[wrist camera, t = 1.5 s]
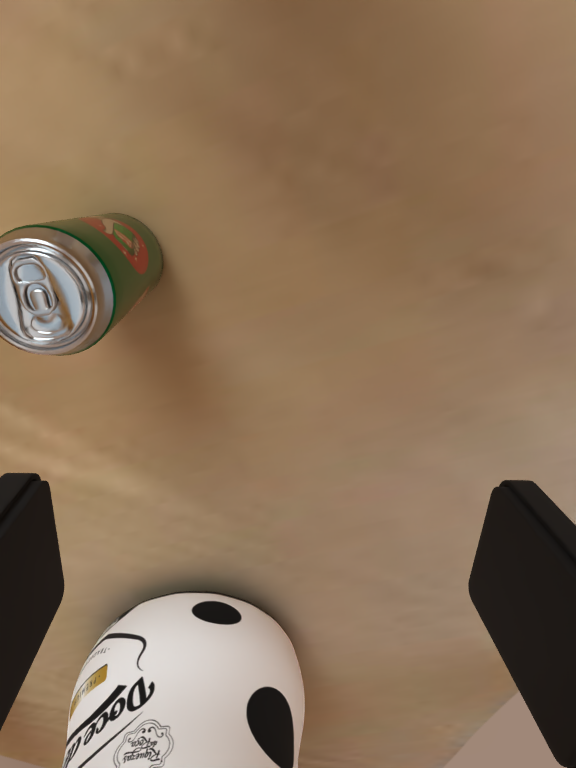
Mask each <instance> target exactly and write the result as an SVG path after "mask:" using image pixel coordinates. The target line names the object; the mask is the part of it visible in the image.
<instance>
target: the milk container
mask: <svg viewBox="0 0 576 768" xmlns="http://www.w3.org/2000/svg"><path fill="white" fill-rule="evenodd" d="M304 714H305V697H304V686H303V680H302V675H301V670H300V667H299V663H298V660H297V657H296V654H295V651H294V648H293V645H292V643H291V641H290V639H289V638H288V636H287V635H286V633H285V632H284V631H283V629H282V628H281V627H280V625H279V624H278V623H277V622H276V621H275V619H274V618H272V617H271V616H270V615H269V614H267V613H266V612H264V611H263V610H261V609H260V608H258V607H257V606H255V605H253V604H251V603H250V602H247V601H245V600H242V599H239V598H236V597H232V596H229V595H225V594H221V593H216V592H200V591H186V592H176V593H171V594H166V595H163V596H159V597H155V598H152V599H149V600H146V601H143V602H142V603H140V604H138V605H136V606H134V607H133V608H131V609H130V610H128V611H127V612H125V613H123V614H122V615H121V616H119V617H118V618H117V619H116V620H115V621H114V622H113V623H112V624H111V625H110V626H109V627H108V628H107V629H106V630H105V631H104V632H103V633H102V635H101V636H100V638H99V639H98V641H97V642H96V644H95V646H94V647H93V649H92V651H91V652H90V654H89V656H88V658H87V660H86V662H85V664H84V666H83V668H82V670H81V672H80V674H79V677H78V680H77V682H76V685H75V688H74V692H73V696H72V700H71V705H70V711H69V720H68V732H67V744H66V751H65V757H64V761H63V765H62V768H298V756H299V749H300V743H301V737H302V731H303V724H304Z"/></svg>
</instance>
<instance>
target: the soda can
mask: <svg viewBox="0 0 576 768" xmlns="http://www.w3.org/2000/svg"><path fill="white" fill-rule="evenodd" d="M162 269H163V256H162V251H161V248H160V245H159V243H158V241H157V239H156V237H155V236H154V235H153V233H152V232H151V231H150V230H149V229H148V228H147V227H146V226H145V225H144V224H143V223H142V222H140V221H138V220H137V219H135V218H133V217H130V216H128V215H124V214H118V213H109V214H101V215H94V216H87V217H81V218H74V219H67V220H60V221H53V222H46V223H40V224H33V225H26V226H22V227H18V228H15V229H13V230H10V231H8V232H6V233H5V234H3V235H2V236H0V337H1V338H2V339H3V340H5V341H6V342H8V343H9V344H11V345H13V346H15V347H17V348H19V349H21V350H24V351H27V352H30V353H35V354H42V355H58V356H61V355H71V354H75V353H79V352H82V351H84V350H86V349H89V348H90V347H92V346H93V345H95V344H96V343H97V342H98V341H100V340H101V339H102V338H103V337H104V336H105V335H106V334H107V333H108V332H109V331H110V330H111V329H112V328H113V327H114V326H115V325H116V324H117V323H119V322H120V321H121V320H122V319H123V318H124V317H125V316H126V315H127V314H128V313H129V312H130V311H131V310H132V309H133V308H134V307H135V306H136V305H137V304H138V303H139V302H140V301H142V300H143V299H144V298H145V297H146V296H147V295H148V294H149V293H150V292H151V291H152V290H153V289H154V288H155V286H156V285H157V283H158V281H159V280H160V277H161V274H162Z"/></svg>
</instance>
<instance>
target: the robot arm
mask: <svg viewBox="0 0 576 768" xmlns="http://www.w3.org/2000/svg"><path fill="white" fill-rule="evenodd" d="M63 593H64V578H63V571H62V565H61V558H60V552H59V545H58V538H57V532H56V525H55V519H54V512H53V505H52V499H51V492H50V487H49V483H48V482H47V481H41V479H40V477H39V475H38V474H36V473H6V474H4V475H3V476H1V477H0V730H1V728H2V726H3V724H4V722H5V720H6V718H7V715H8V713H9V711H10V709H11V707H12V705H13V703H14V701H15V699H16V696H17V694H18V692H19V690H20V688H21V686H22V684H23V682H24V679H25V677H26V675H27V673H28V671H29V669H30V667H31V665H32V663H33V660H34V658H35V656H36V654H37V652H38V650H39V648H40V646H41V643H42V641H43V639H44V637H45V635H46V633H47V631H48V629H49V626H50V624H51V622H52V620H53V618H54V616H55V614H56V612H57V610H58V607H59V605H60V603H61V601H62V597H63ZM469 594H470V597H471V600H472V602H473V604H474V606H475V608H476V609H477V611H478V613H479V615H480V617H481V619H482V621H483V623H484V625H485V627H486V628H487V630H488V632H489V634H490V636H491V638H492V640H493V642H494V644H495V646H496V647H497V649H498V651H499V653H500V655H501V657H502V659H503V661H504V663H505V665H506V666H507V668H508V670H509V672H510V674H511V676H512V678H513V680H514V682H515V683H516V685H517V687H518V689H519V691H520V693H521V695H522V697H523V699H524V701H525V702H526V704H527V706H528V708H529V710H530V712H531V714H532V716H533V718H534V720H535V721H536V723H537V725H538V727H539V729H540V731H541V733H542V735H543V736H544V738H545V740H546V742H547V744H548V746H549V748H550V750H551V752H552V754H553V755H554V757H555V759H556V760H557V762H559V764H560V765H562V766H564V767H567V768H576V525H575V524H574V523H573V522H572V521H571V520H570V519H569V518H568V517H567V516H566V515H565V514H564V513H563V512H562V511H561V510H560V509H559V508H558V507H557V506H556V505H555V503H554V502H553V501H552V500H551V499H550V498H549V497H548V496H547V495H546V494H545V493H544V492H543V491H542V490H541V489H540V488H539V487H538V486H537V485H536V484H535V483H534V482H533V481H526V480H505V481H502V483H501V484H500V485H499V487H495V488H494V489H493V491H492V493H491V497H490V501H489V505H488V509H487V513H486V516H485V520H484V524H483V528H482V532H481V536H480V540H479V544H478V547H477V551H476V555H475V559H474V563H473V567H472V571H471V575H470V579H469Z"/></svg>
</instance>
